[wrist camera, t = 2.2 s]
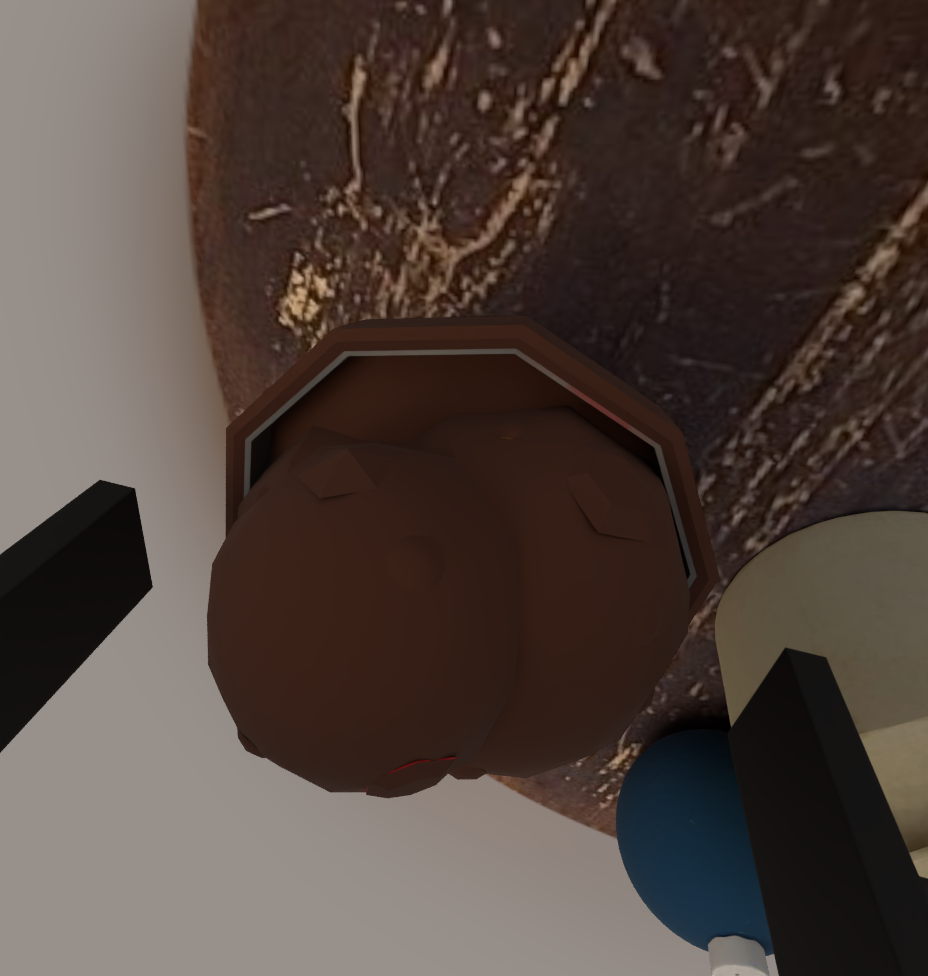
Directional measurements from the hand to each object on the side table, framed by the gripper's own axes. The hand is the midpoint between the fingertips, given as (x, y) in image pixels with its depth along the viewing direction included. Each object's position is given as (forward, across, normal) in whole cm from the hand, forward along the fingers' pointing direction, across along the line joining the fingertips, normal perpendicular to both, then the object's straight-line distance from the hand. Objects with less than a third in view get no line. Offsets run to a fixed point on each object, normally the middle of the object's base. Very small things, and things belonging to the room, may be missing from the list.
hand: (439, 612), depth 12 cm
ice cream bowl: (+11, 0, 0) cm, 11 cm away
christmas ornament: (+11, +13, -16) cm, 23 cm away
